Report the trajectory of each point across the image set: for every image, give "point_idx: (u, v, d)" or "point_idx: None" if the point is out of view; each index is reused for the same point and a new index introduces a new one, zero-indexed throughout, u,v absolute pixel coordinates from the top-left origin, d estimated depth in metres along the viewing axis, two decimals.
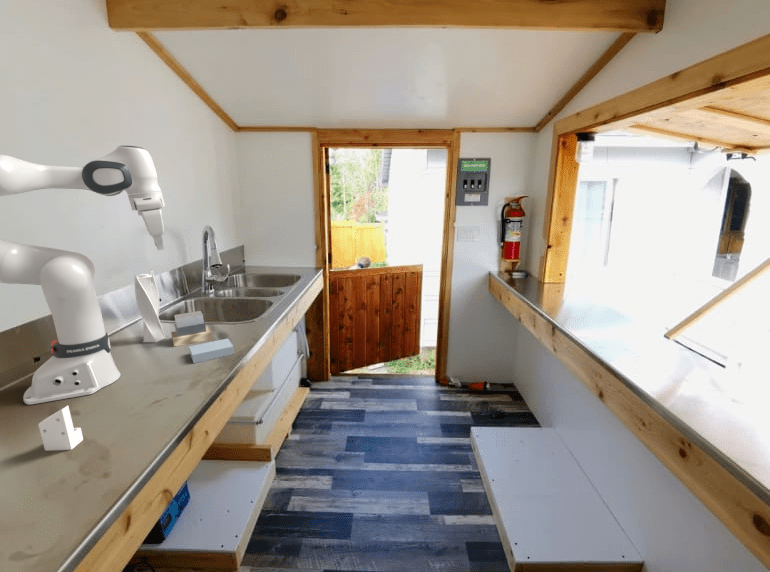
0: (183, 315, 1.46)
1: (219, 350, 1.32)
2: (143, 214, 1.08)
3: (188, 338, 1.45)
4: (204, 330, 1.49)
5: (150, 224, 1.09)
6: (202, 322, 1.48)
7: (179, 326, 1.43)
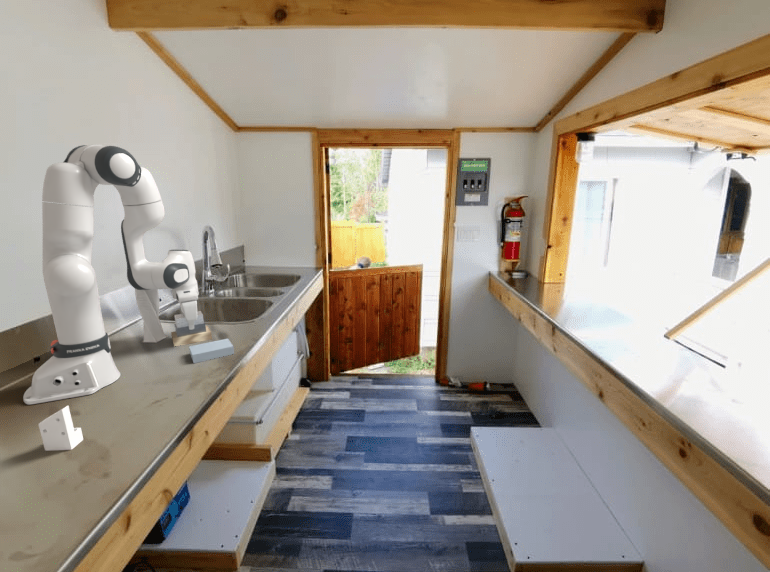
0: (183, 315, 1.46)
1: (219, 350, 1.32)
2: (183, 305, 1.37)
3: (188, 338, 1.45)
4: (204, 330, 1.49)
5: (187, 312, 1.38)
6: (202, 322, 1.48)
7: (179, 326, 1.43)
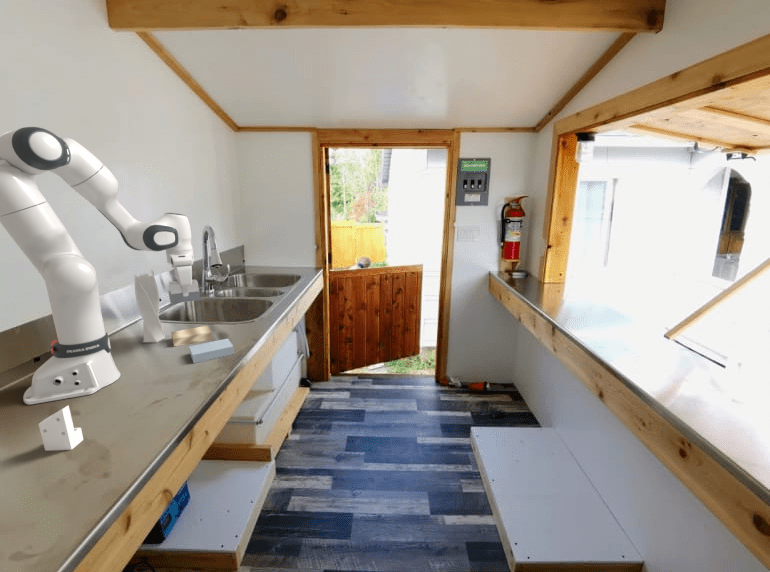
0: None
1: (219, 350, 1.32)
2: (177, 269, 1.34)
3: (188, 338, 1.45)
4: (199, 298, 1.45)
5: (181, 277, 1.34)
6: (197, 290, 1.44)
7: (173, 292, 1.40)
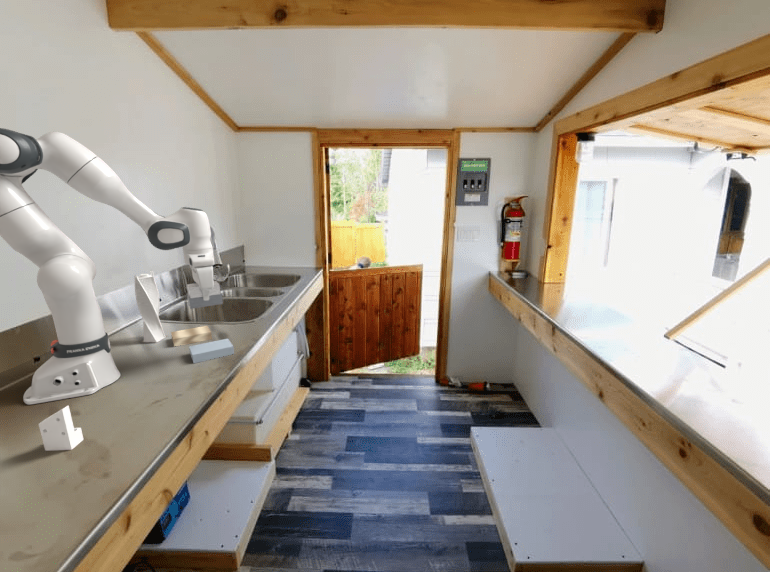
0: None
1: (219, 350, 1.32)
2: (197, 270, 1.19)
3: (188, 338, 1.45)
4: (221, 302, 1.31)
5: (202, 279, 1.20)
6: (218, 293, 1.30)
7: (193, 296, 1.26)
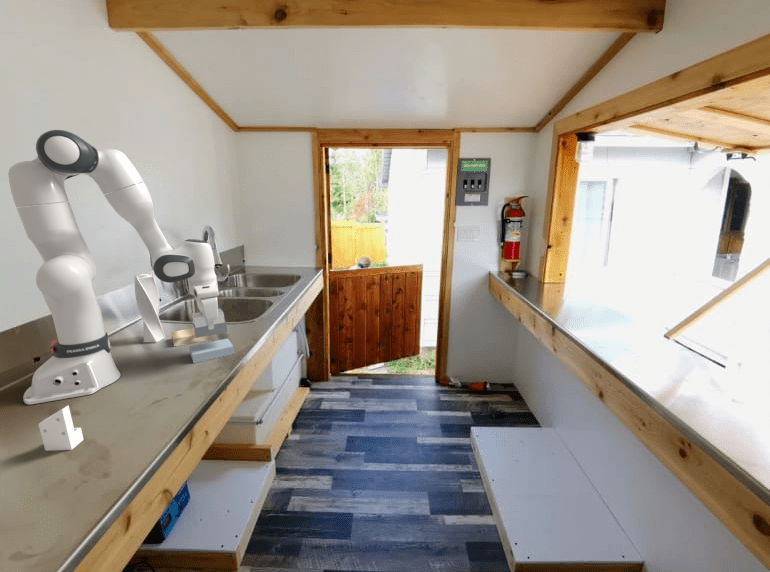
0: None
1: (219, 350, 1.32)
2: (202, 302, 1.22)
3: (188, 338, 1.45)
4: (225, 330, 1.33)
5: (207, 310, 1.22)
6: (223, 321, 1.32)
7: (198, 326, 1.28)
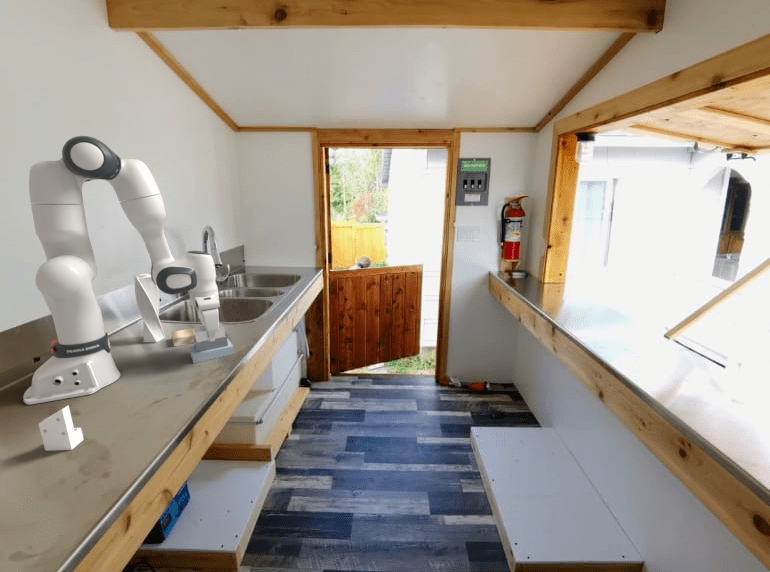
0: (203, 328, 1.32)
1: (219, 350, 1.32)
2: (203, 314, 1.23)
3: (188, 338, 1.45)
4: (226, 344, 1.34)
5: (208, 322, 1.23)
6: (224, 335, 1.33)
7: (199, 340, 1.29)
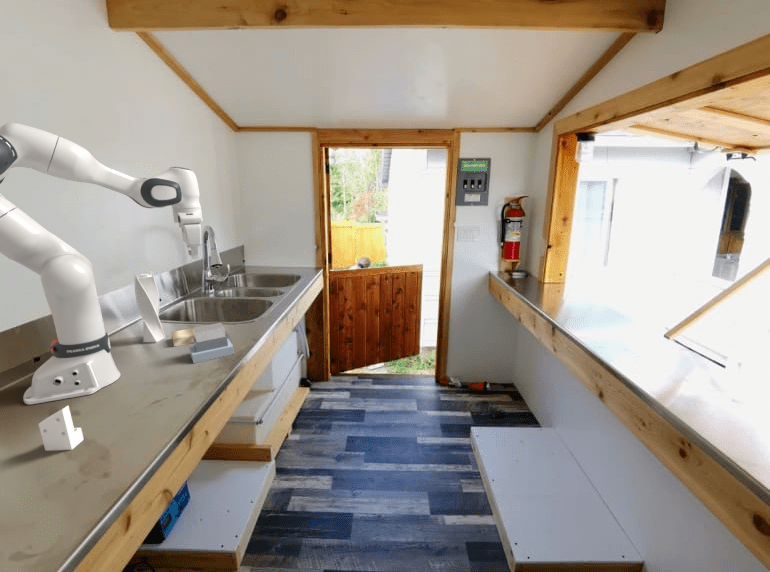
0: (203, 328, 1.32)
1: (219, 350, 1.32)
2: (185, 227, 1.24)
3: (188, 338, 1.45)
4: (226, 344, 1.34)
5: (190, 236, 1.24)
6: (224, 335, 1.33)
7: (199, 340, 1.29)
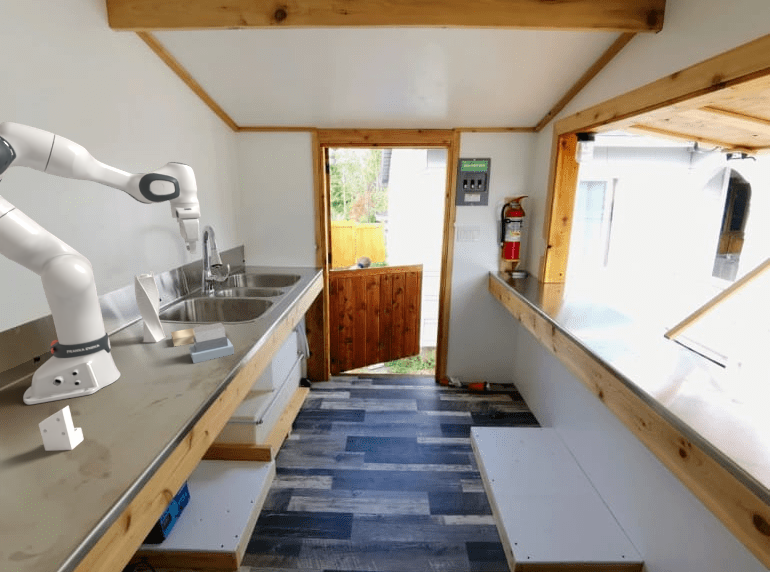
0: (203, 328, 1.32)
1: (219, 350, 1.32)
2: (183, 222, 1.24)
3: (188, 338, 1.45)
4: (226, 344, 1.34)
5: (188, 230, 1.25)
6: (224, 335, 1.33)
7: (199, 340, 1.29)
